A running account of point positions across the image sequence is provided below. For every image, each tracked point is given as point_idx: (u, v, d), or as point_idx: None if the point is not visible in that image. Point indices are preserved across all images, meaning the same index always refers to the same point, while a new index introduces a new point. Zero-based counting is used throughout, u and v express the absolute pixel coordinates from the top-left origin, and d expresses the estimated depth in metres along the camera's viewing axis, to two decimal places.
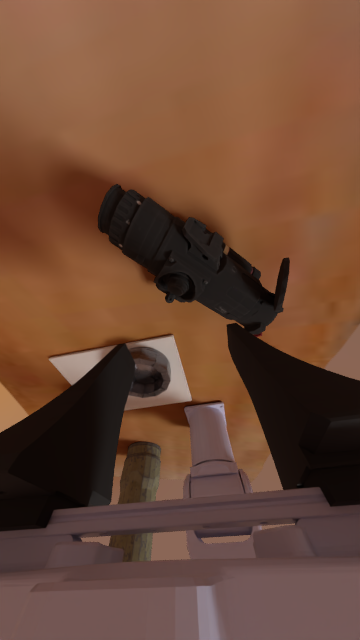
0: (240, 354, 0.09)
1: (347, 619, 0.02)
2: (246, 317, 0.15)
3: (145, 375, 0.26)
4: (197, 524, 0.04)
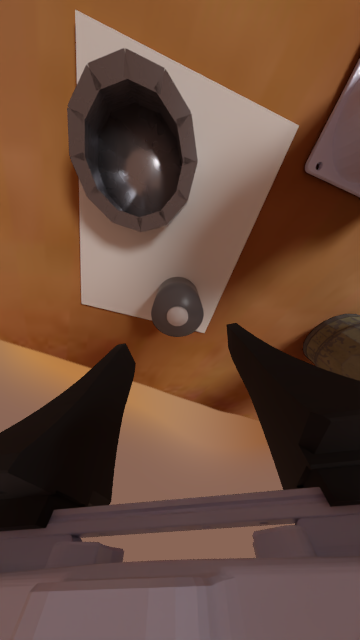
0: (240, 354, 0.09)
1: (347, 619, 0.02)
2: None
3: (156, 177, 0.13)
4: (197, 524, 0.04)
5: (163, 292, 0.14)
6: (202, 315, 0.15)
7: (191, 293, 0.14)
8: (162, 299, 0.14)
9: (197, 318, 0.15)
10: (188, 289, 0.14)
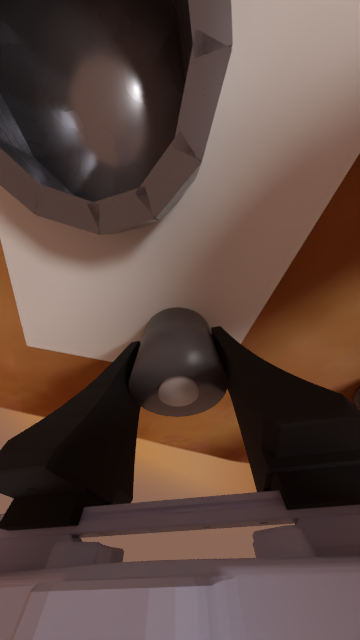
0: (221, 357, 0.09)
1: (347, 618, 0.02)
2: None
3: (132, 118, 0.06)
4: (197, 524, 0.04)
5: (150, 351, 0.07)
6: (224, 388, 0.08)
7: (206, 353, 0.07)
8: (147, 366, 0.07)
9: (215, 392, 0.08)
10: (198, 342, 0.08)
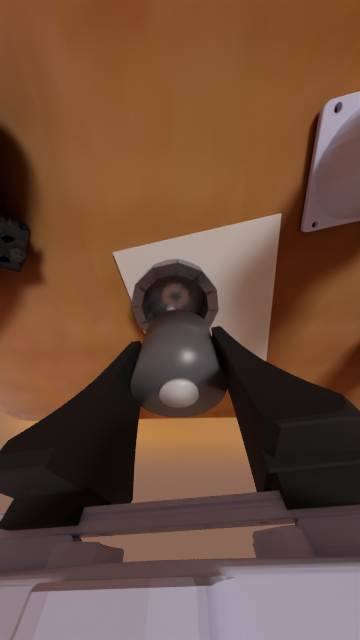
0: (221, 357, 0.09)
1: (347, 619, 0.02)
2: None
3: (187, 299, 0.17)
4: (197, 524, 0.04)
5: (149, 355, 0.07)
6: (224, 388, 0.08)
7: (203, 355, 0.07)
8: (147, 369, 0.07)
9: (215, 392, 0.08)
10: (196, 344, 0.08)
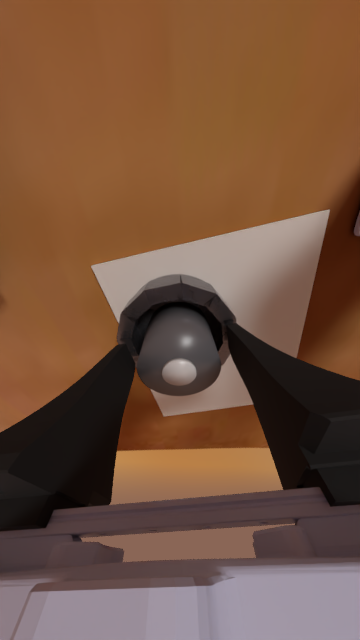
0: (240, 354, 0.09)
1: (347, 619, 0.02)
2: None
3: None
4: (197, 524, 0.04)
5: (153, 338, 0.09)
6: (219, 368, 0.09)
7: (200, 337, 0.08)
8: (152, 350, 0.08)
9: (211, 372, 0.09)
10: (194, 329, 0.09)
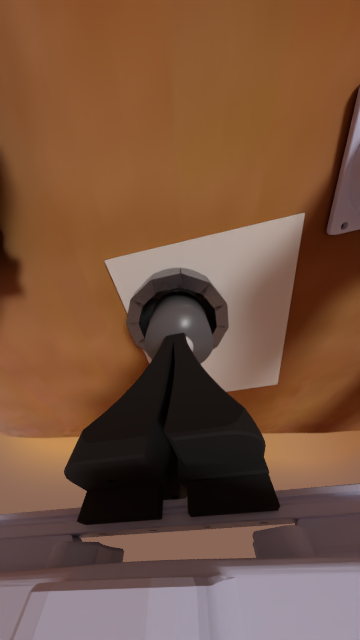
0: None
1: (347, 619, 0.02)
2: None
3: None
4: (197, 524, 0.04)
5: (158, 318, 0.11)
6: (212, 343, 0.11)
7: (196, 317, 0.10)
8: (157, 327, 0.10)
9: (205, 347, 0.11)
10: (191, 311, 0.11)
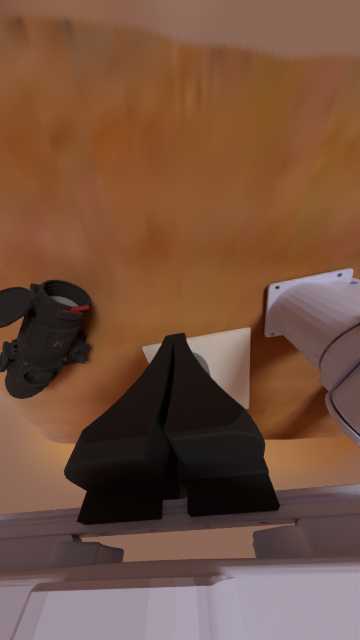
0: None
1: (347, 619, 0.02)
2: (56, 324, 0.15)
3: None
4: (197, 524, 0.04)
5: None
6: None
7: None
8: None
9: None
10: None
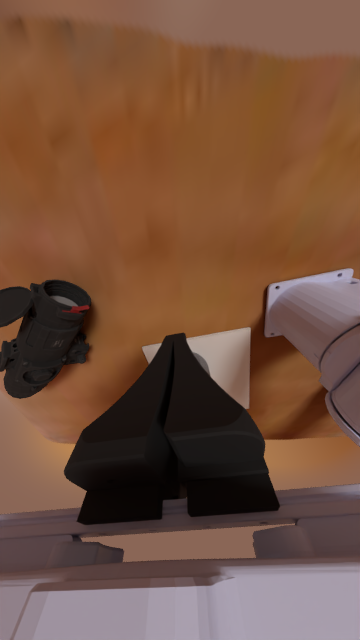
0: None
1: (347, 619, 0.02)
2: (56, 324, 0.15)
3: None
4: (197, 524, 0.04)
5: None
6: None
7: None
8: None
9: None
10: None
